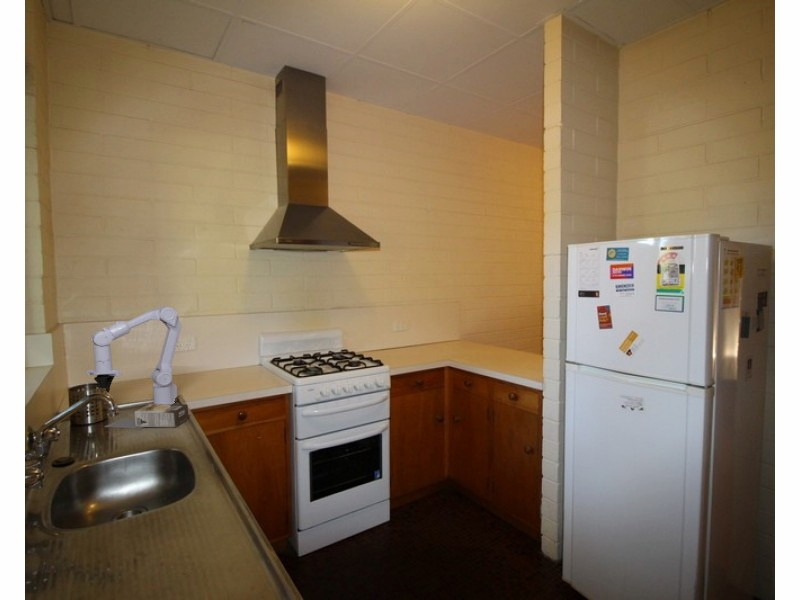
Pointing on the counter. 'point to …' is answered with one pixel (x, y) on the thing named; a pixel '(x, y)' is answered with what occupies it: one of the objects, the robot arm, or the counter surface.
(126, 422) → the mat
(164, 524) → the counter surface
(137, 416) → the coffee box
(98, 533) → the counter surface
